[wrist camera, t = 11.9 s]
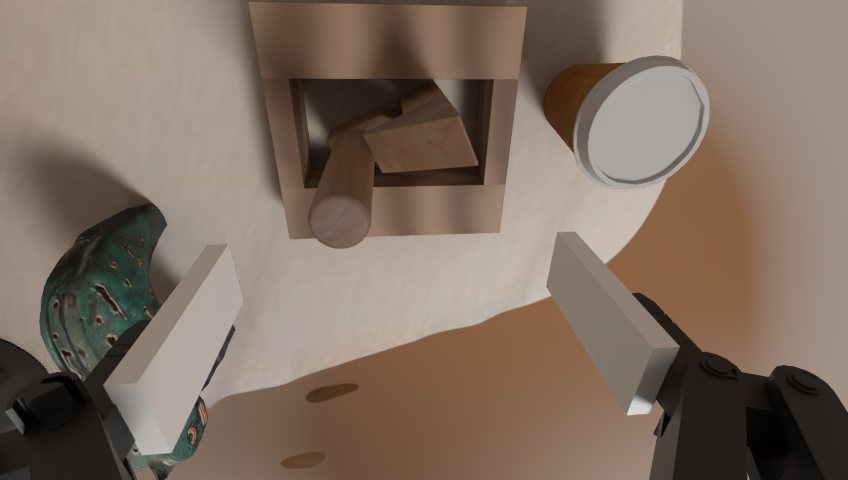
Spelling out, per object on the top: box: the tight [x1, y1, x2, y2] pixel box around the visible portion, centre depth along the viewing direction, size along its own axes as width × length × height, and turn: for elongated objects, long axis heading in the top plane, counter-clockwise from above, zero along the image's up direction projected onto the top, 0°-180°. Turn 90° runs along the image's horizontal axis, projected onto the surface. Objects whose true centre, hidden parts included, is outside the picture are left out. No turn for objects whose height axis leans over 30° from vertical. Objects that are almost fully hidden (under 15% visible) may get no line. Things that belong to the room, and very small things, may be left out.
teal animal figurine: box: [40, 204, 235, 480], centre depth 35 cm, size 20×6×20 cm, turn 11°
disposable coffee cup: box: [544, 56, 710, 189], centre depth 33 cm, size 10×10×12 cm
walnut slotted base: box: [248, 2, 527, 239], centre depth 35 cm, size 20×19×5 cm
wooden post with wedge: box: [307, 82, 478, 248], centre depth 30 cm, size 4×11×18 cm, turn 114°
